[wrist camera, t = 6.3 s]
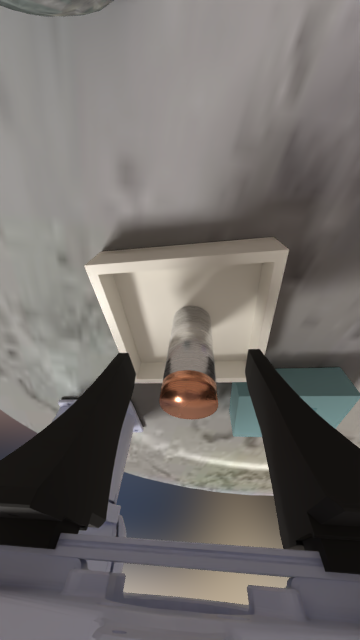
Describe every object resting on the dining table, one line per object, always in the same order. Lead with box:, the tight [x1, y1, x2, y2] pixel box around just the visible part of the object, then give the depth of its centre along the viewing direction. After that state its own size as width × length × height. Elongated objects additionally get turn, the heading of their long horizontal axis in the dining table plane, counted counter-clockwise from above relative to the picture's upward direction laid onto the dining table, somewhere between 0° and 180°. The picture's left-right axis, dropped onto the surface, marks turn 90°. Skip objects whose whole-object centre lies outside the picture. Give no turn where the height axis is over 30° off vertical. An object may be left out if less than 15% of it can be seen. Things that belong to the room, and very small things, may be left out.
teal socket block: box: [229, 367, 360, 437], centre depth 20 cm, size 10×8×3 cm
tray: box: [84, 237, 289, 383], centre depth 15 cm, size 11×11×2 cm
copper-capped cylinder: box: [159, 306, 218, 419], centre depth 13 cm, size 3×3×7 cm
